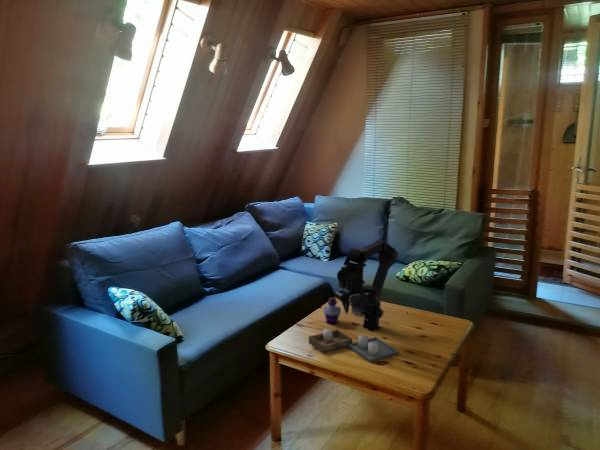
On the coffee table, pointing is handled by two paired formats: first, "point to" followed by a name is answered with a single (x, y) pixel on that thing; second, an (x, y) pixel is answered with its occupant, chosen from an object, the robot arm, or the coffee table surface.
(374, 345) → the stone
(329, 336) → the stone
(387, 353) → the slate tray
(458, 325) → the coffee table surface
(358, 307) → the crystal cluster
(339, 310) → the potion bottle
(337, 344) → the walnut box
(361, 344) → the stone
